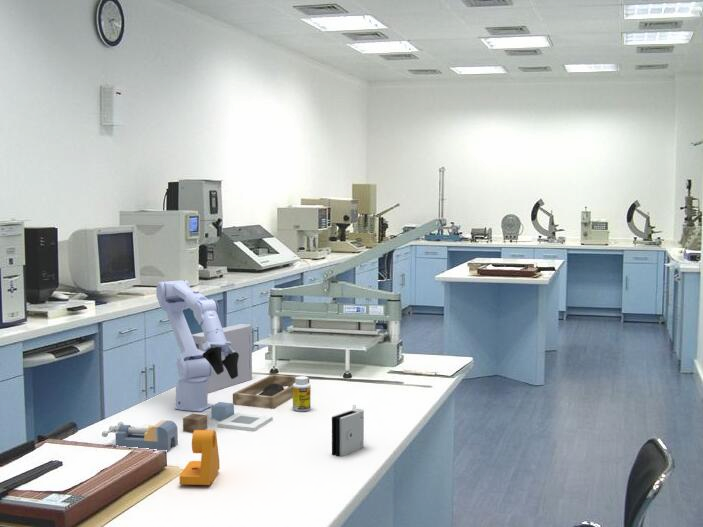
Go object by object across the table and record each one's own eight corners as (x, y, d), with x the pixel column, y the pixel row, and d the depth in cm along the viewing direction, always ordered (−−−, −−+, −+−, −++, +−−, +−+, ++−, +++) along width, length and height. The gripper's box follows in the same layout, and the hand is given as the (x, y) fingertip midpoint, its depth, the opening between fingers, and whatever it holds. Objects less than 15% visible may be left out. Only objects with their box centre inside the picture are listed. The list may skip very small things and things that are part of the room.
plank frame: (232, 404, 258) (232, 393, 258) (272, 384, 285) (271, 374, 284) (273, 408, 253) (273, 397, 253) (309, 387, 280) (309, 377, 279)
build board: (217, 426, 234) (217, 423, 234) (237, 415, 245) (237, 412, 245) (254, 431, 229) (253, 427, 229) (272, 419, 241) (272, 416, 241)
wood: (274, 406, 257) (274, 397, 257) (252, 405, 259) (252, 395, 258) (291, 389, 279) (291, 380, 279) (270, 388, 281) (270, 379, 280)
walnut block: (183, 431, 230) (182, 418, 229) (192, 426, 234) (192, 413, 234) (198, 433, 228) (198, 419, 227) (207, 428, 232) (207, 415, 232)
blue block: (211, 419, 242) (211, 406, 242) (219, 414, 247) (219, 401, 247) (226, 420, 241) (225, 407, 240) (234, 416, 245) (234, 403, 245)
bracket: (190, 471, 197) (189, 423, 196) (219, 471, 197) (218, 424, 196) (178, 487, 186) (177, 437, 185) (209, 488, 186) (208, 437, 185)
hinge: (353, 440, 222) (353, 404, 221) (370, 443, 219) (371, 407, 218) (329, 455, 209) (329, 417, 208) (347, 458, 207) (347, 420, 206)
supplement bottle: (298, 413, 248) (298, 380, 247) (289, 408, 253) (289, 376, 252) (313, 410, 251) (313, 378, 250) (305, 406, 256) (304, 374, 255)
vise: (180, 442, 220) (180, 418, 219) (164, 455, 210) (164, 430, 209) (119, 438, 223) (119, 415, 222) (101, 450, 213) (100, 426, 212)
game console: (254, 379, 292) (253, 325, 291) (202, 395, 269) (201, 336, 268) (242, 377, 295) (241, 323, 294) (189, 393, 273) (188, 335, 271)
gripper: (211, 323, 233) (224, 364, 227) (238, 333, 245) (251, 372, 239) (192, 334, 234) (205, 375, 228) (219, 344, 247) (232, 383, 241)
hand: (227, 375), depth 234 cm, fingers open, 7 cm apart
